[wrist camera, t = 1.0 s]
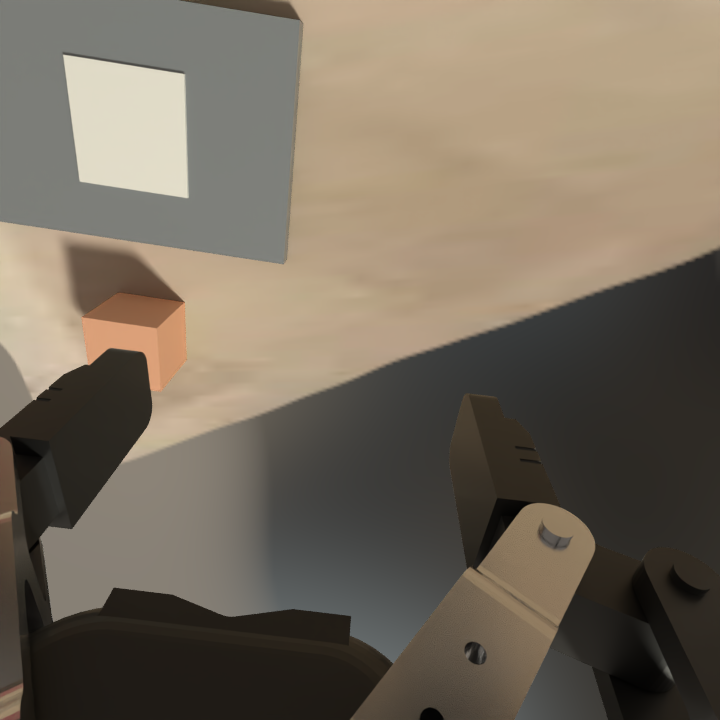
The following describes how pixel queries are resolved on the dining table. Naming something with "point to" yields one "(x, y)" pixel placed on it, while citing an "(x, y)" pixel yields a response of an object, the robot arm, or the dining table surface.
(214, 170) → the plate
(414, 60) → the dining table surface
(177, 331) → the orange cube
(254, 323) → the dining table surface
